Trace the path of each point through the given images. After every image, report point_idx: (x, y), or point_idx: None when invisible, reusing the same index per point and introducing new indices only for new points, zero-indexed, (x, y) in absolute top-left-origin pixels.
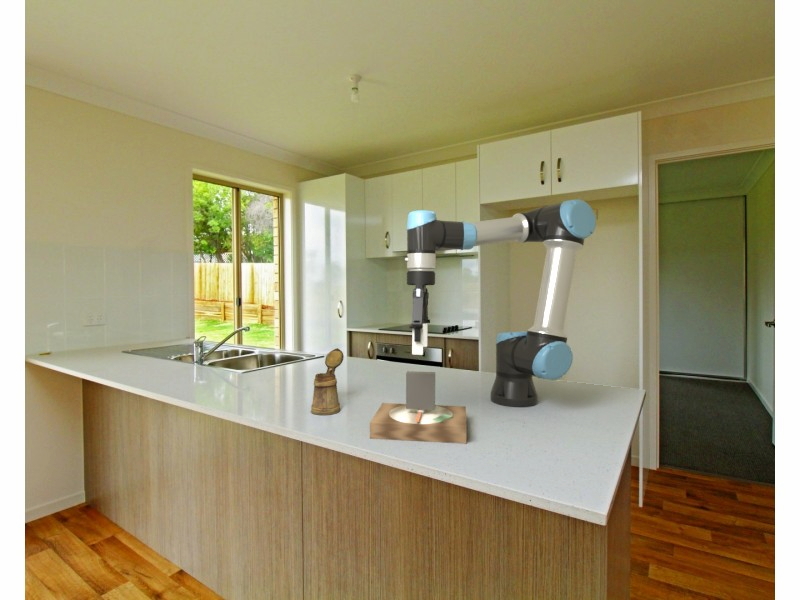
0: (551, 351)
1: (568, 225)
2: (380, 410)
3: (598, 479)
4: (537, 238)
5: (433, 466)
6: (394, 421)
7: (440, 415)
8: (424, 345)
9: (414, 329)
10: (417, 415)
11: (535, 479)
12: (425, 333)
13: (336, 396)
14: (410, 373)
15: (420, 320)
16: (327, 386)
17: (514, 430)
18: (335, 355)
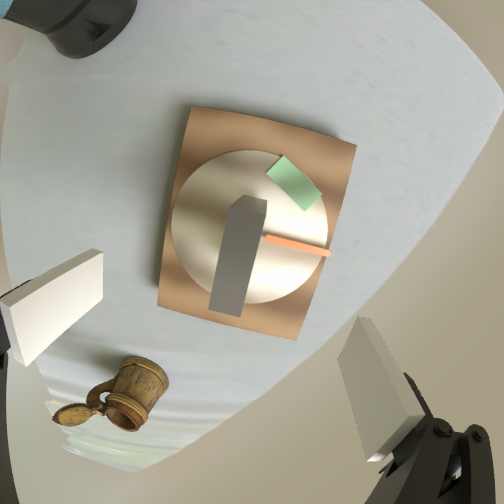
0: None
1: None
2: (214, 316)
3: (457, 44)
4: None
5: (424, 234)
6: (296, 295)
7: (270, 184)
8: (99, 268)
9: (388, 448)
10: (297, 248)
11: (464, 110)
12: (56, 289)
13: (138, 380)
14: (243, 303)
15: (485, 457)
16: (144, 408)
17: (277, 36)
18: (68, 417)
